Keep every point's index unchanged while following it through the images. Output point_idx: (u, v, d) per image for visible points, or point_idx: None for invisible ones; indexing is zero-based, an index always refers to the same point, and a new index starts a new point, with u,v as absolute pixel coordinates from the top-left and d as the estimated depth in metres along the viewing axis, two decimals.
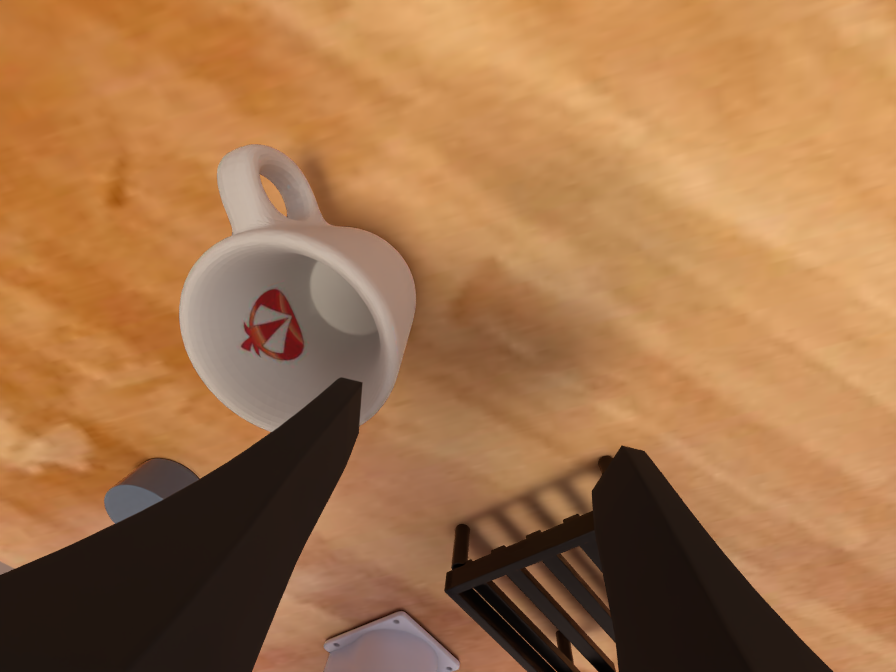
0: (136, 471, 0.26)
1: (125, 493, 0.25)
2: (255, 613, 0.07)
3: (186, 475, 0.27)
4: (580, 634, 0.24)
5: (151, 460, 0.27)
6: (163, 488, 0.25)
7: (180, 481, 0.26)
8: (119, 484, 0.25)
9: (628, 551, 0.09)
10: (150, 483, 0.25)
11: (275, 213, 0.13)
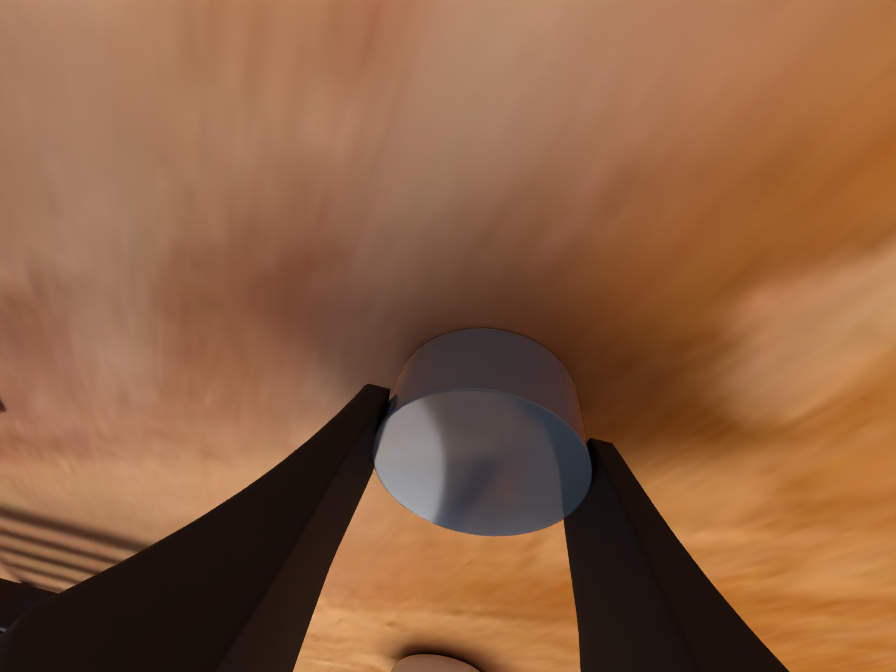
0: None
1: (541, 510, 0.10)
2: (296, 624, 0.07)
3: None
4: None
5: None
6: None
7: None
8: None
9: (592, 542, 0.09)
10: None
11: None
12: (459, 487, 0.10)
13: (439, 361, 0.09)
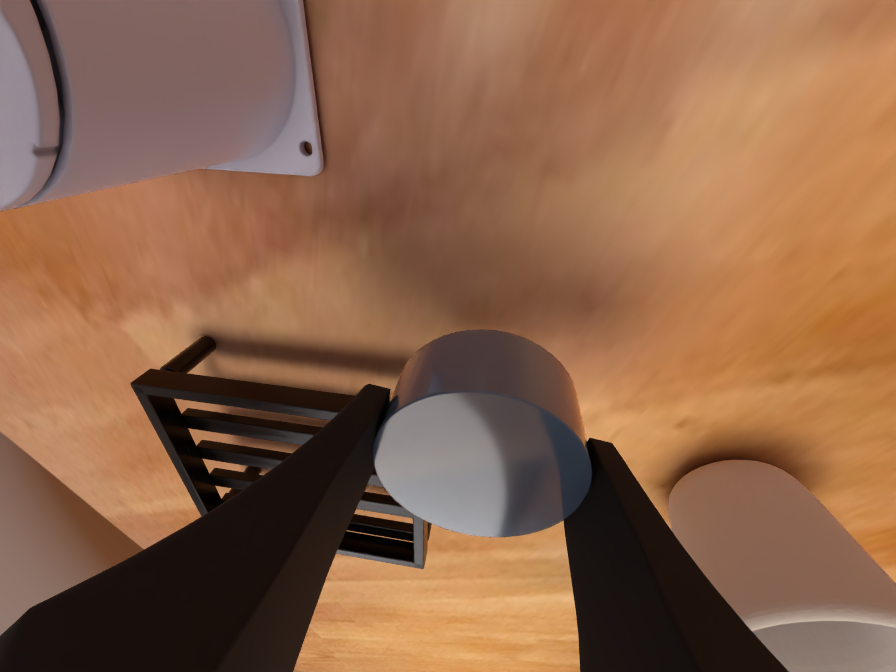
0: None
1: (541, 511, 0.10)
2: (296, 624, 0.07)
3: None
4: (265, 439, 0.20)
5: None
6: None
7: None
8: None
9: (591, 542, 0.09)
10: None
11: None
12: (459, 488, 0.10)
13: (439, 363, 0.09)
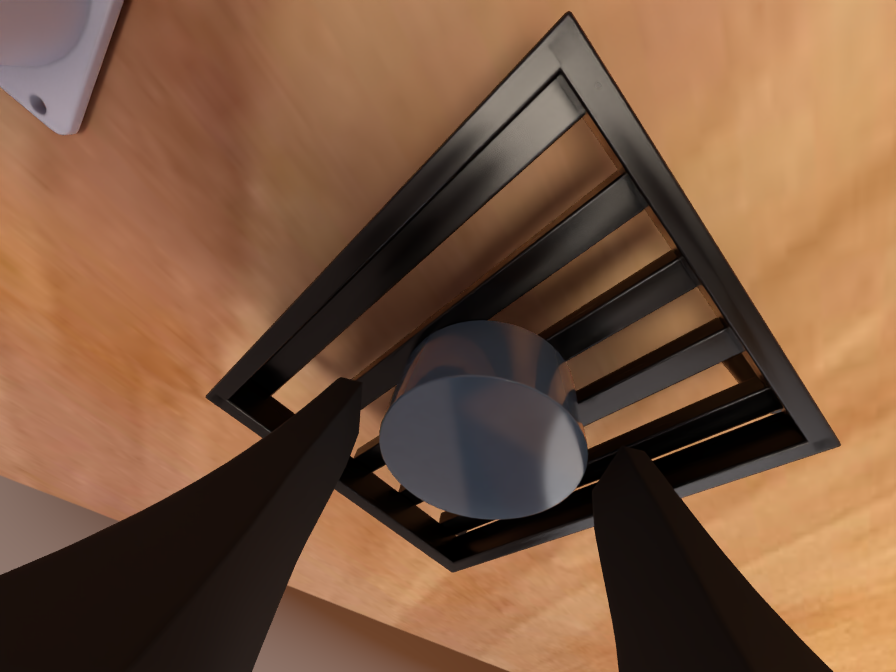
0: None
1: (539, 493, 0.10)
2: (255, 613, 0.07)
3: None
4: None
5: None
6: None
7: None
8: None
9: (628, 551, 0.09)
10: None
11: None
12: (461, 471, 0.10)
13: (443, 351, 0.10)
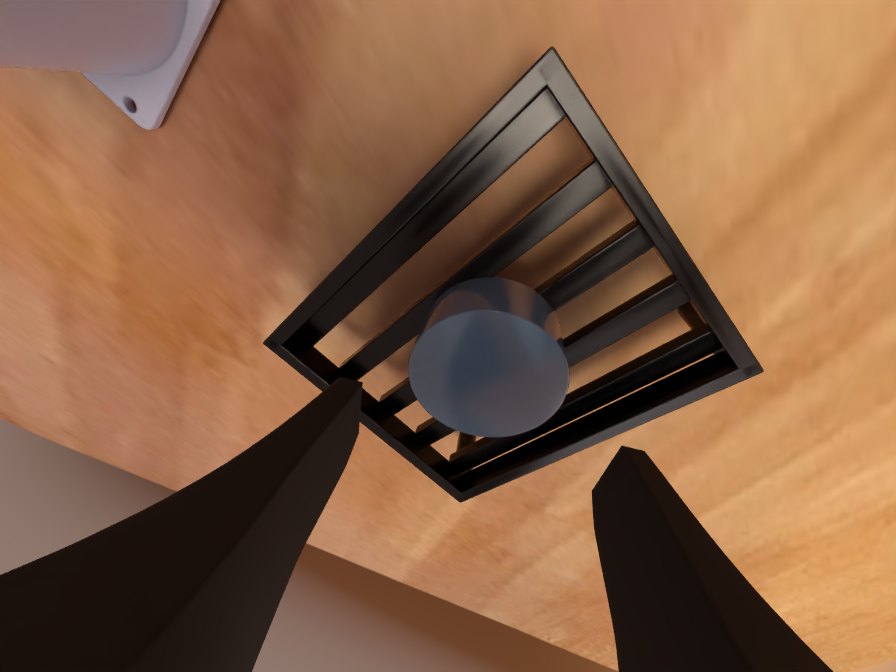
0: None
1: (533, 411, 0.13)
2: (255, 613, 0.07)
3: None
4: None
5: None
6: None
7: None
8: None
9: (628, 551, 0.09)
10: None
11: None
12: (472, 394, 0.13)
13: (458, 297, 0.13)
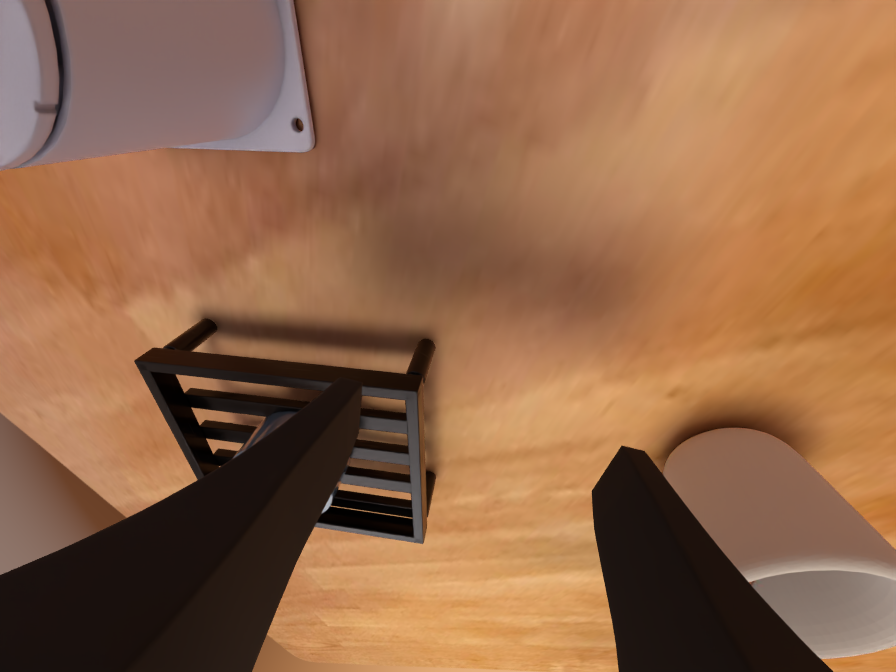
0: None
1: None
2: (255, 613, 0.07)
3: None
4: (265, 416, 0.21)
5: None
6: None
7: None
8: None
9: (628, 551, 0.09)
10: None
11: None
12: None
13: None
